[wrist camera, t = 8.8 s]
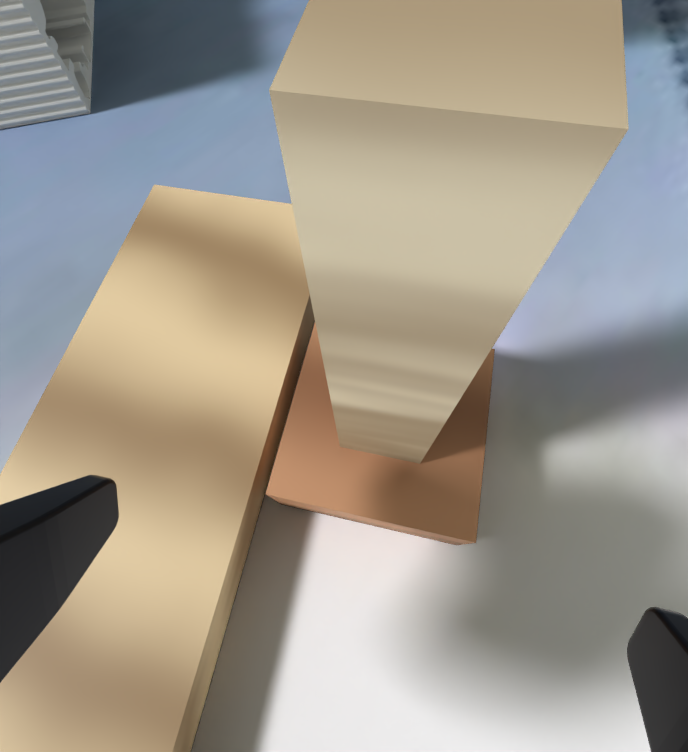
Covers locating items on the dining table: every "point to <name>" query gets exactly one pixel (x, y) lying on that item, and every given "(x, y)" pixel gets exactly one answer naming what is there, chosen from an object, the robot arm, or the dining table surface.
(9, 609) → the robot arm
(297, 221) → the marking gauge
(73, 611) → the board
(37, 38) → the aluminum extrusion profile
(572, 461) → the dining table surface
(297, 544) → the dining table surface
